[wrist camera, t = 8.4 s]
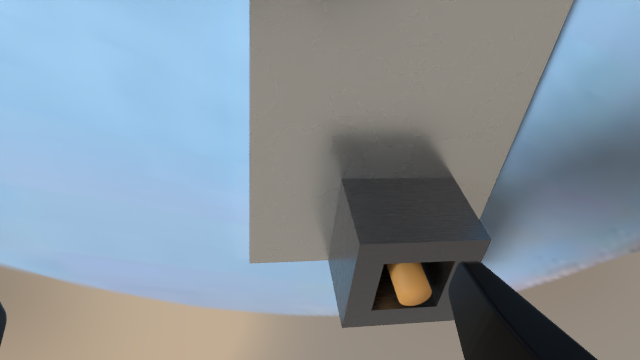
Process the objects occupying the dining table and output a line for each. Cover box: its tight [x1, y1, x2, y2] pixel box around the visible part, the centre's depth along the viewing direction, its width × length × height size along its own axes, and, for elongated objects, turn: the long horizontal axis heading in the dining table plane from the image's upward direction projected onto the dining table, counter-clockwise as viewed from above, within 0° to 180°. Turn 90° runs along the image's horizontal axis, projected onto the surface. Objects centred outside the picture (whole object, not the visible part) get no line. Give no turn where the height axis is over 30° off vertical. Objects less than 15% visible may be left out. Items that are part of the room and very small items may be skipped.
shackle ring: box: [328, 178, 491, 328], centre depth 23 cm, size 6×6×4 cm
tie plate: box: [249, 0, 574, 263], centre depth 19 cm, size 13×21×4 cm, turn 174°
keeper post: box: [387, 262, 432, 306], centre depth 23 cm, size 2×2×5 cm
